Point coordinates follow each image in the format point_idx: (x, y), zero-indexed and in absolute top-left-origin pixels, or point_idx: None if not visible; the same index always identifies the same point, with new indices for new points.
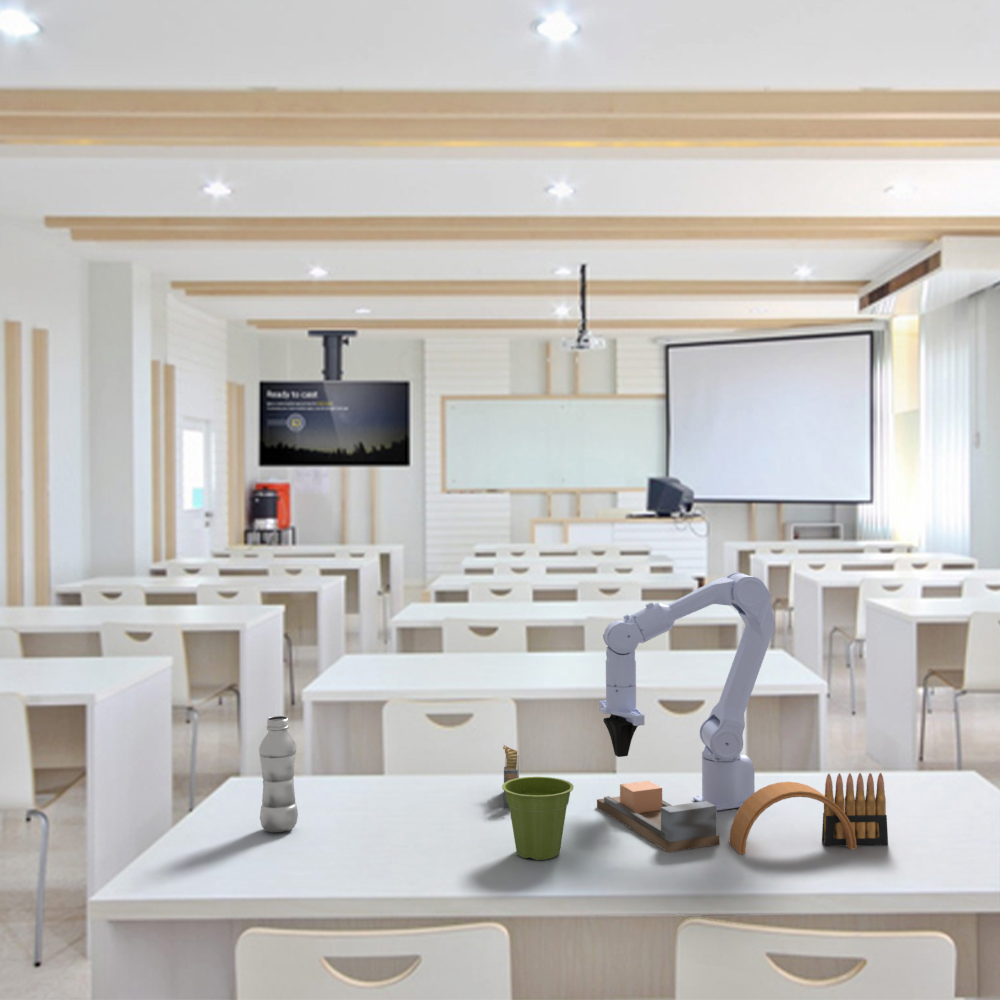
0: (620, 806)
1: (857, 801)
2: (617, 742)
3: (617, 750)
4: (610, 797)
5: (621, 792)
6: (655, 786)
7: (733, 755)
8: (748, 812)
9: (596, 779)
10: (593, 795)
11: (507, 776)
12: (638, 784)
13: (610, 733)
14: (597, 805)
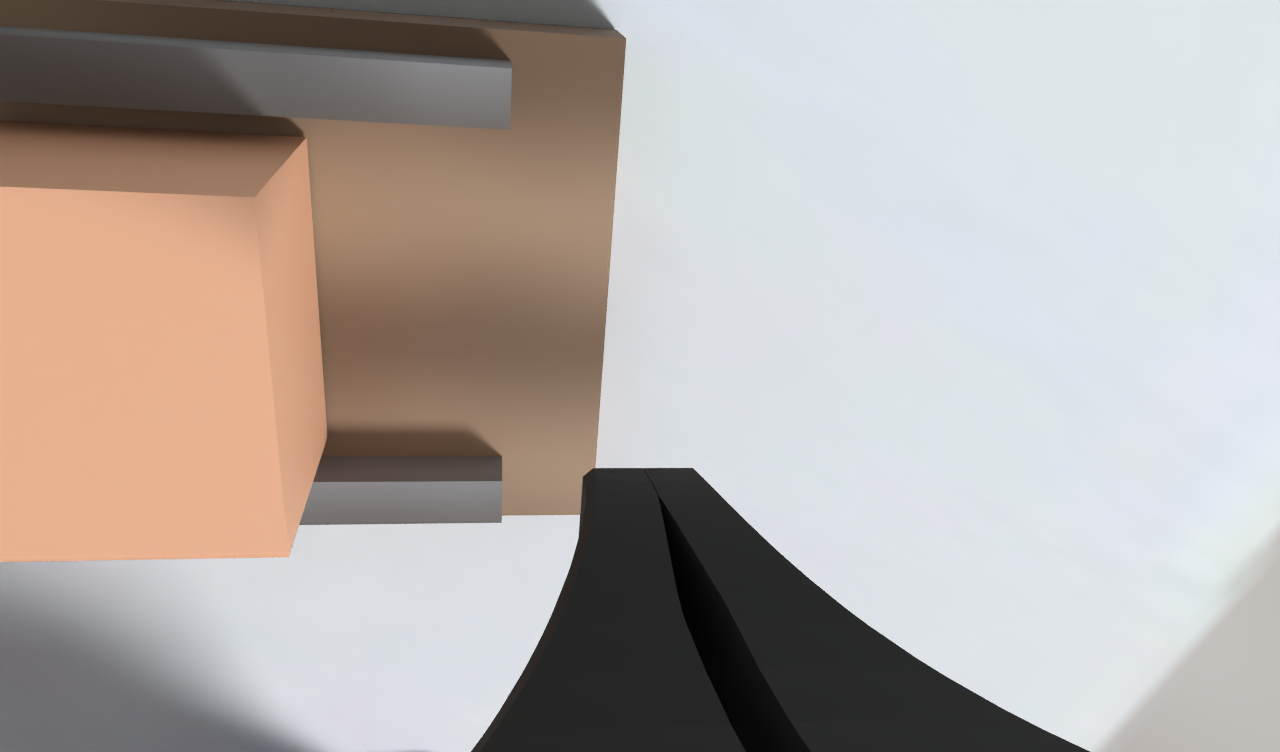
0: (91, 41)
1: None
2: (562, 601)
3: (584, 512)
4: (459, 119)
5: (234, 170)
6: (31, 525)
7: None
8: None
9: (1237, 422)
10: (932, 192)
11: None
12: (170, 397)
13: (853, 664)
14: (608, 31)
